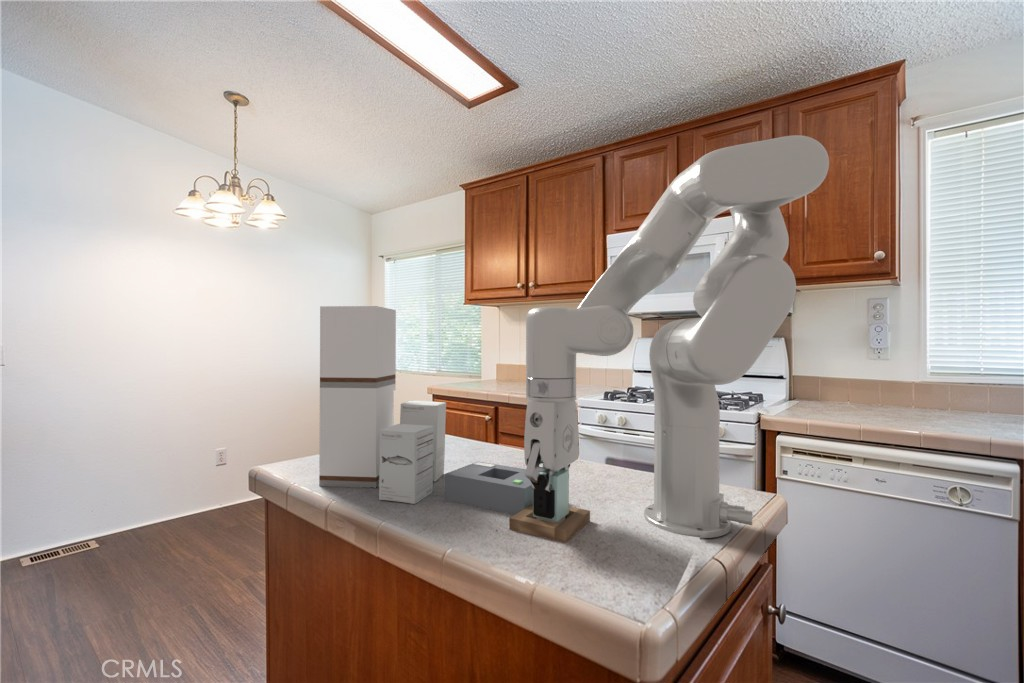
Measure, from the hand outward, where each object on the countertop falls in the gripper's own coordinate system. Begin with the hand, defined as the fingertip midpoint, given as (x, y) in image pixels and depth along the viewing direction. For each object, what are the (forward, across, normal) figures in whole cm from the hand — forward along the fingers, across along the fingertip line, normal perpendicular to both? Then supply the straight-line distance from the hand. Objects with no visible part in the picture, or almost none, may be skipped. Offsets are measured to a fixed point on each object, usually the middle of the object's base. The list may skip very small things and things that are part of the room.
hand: (551, 510), depth 70 cm
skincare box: (+3, +11, +35) cm, 37 cm away
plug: (+2, 0, 0) cm, 2 cm away
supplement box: (+3, 0, +29) cm, 29 cm away
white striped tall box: (+3, +3, +45) cm, 45 cm away
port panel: (+3, +6, +13) cm, 15 cm away
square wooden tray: (+3, 0, 0) cm, 3 cm away
